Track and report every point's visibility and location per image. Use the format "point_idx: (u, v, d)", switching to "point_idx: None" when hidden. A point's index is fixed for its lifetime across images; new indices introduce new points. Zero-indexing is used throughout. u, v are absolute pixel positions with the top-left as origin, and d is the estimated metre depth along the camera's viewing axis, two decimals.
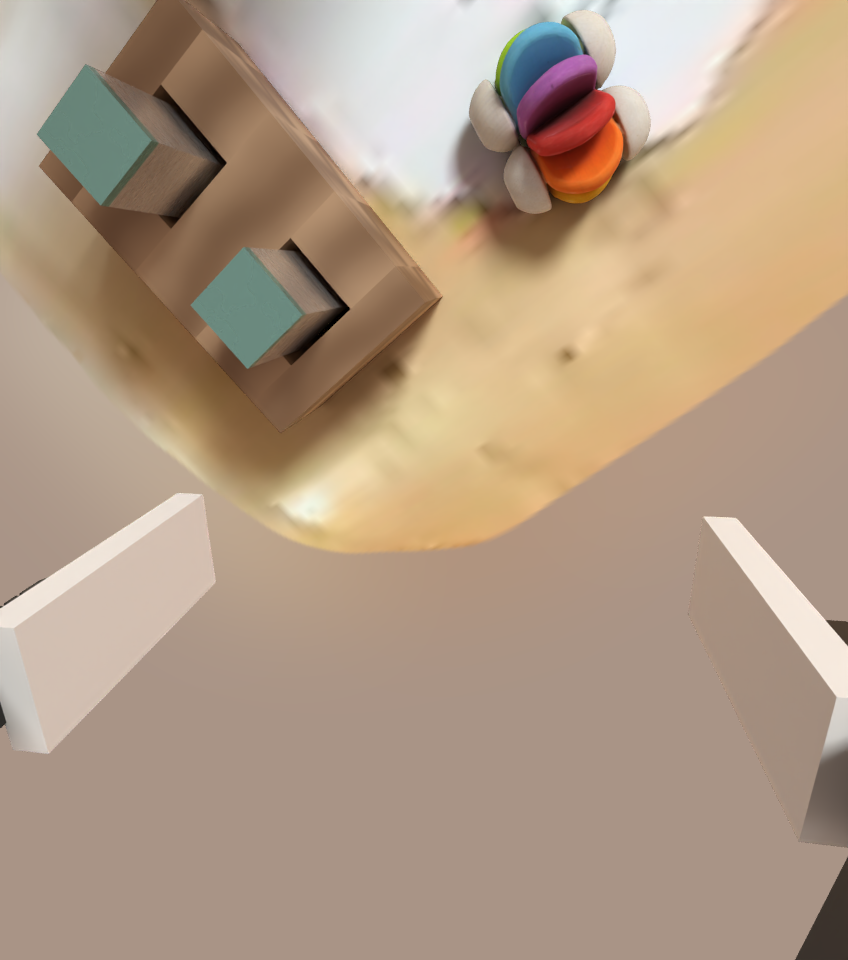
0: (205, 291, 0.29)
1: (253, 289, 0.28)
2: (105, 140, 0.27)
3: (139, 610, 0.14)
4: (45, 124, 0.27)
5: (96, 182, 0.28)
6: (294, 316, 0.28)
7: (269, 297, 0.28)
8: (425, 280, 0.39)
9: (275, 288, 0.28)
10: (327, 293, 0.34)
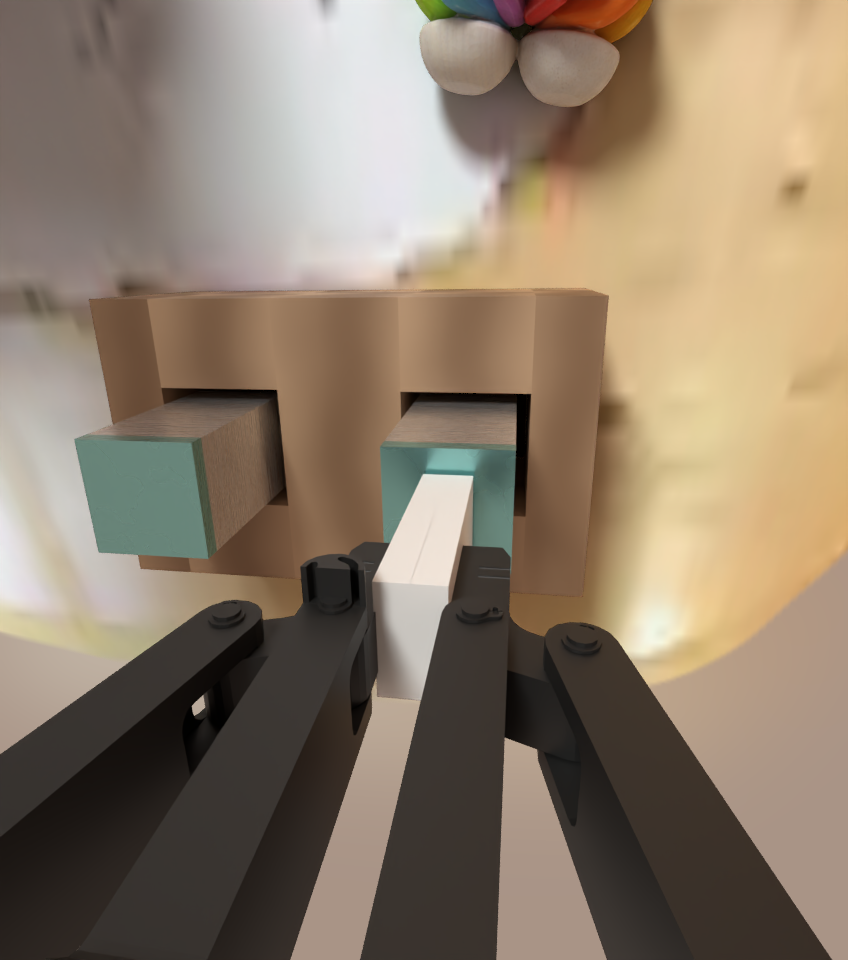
0: (386, 535, 0.19)
1: None
2: (154, 490, 0.19)
3: None
4: (96, 534, 0.20)
5: (184, 540, 0.20)
6: (508, 461, 0.17)
7: (459, 470, 0.18)
8: None
9: (456, 453, 0.17)
10: (490, 403, 0.23)
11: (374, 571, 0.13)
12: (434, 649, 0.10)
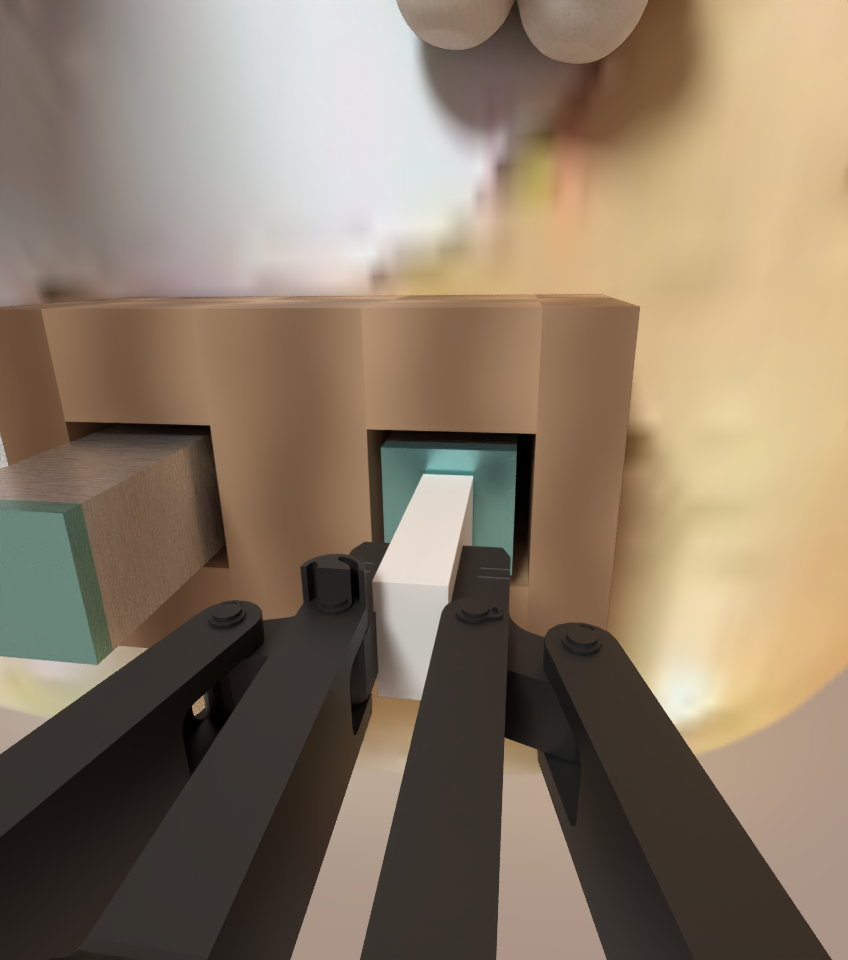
0: (387, 536, 0.19)
1: None
2: (19, 575, 0.14)
3: None
4: None
5: (64, 640, 0.14)
6: (509, 462, 0.17)
7: (460, 471, 0.18)
8: (568, 296, 0.22)
9: (457, 454, 0.17)
10: None
11: (374, 571, 0.13)
12: (434, 649, 0.10)
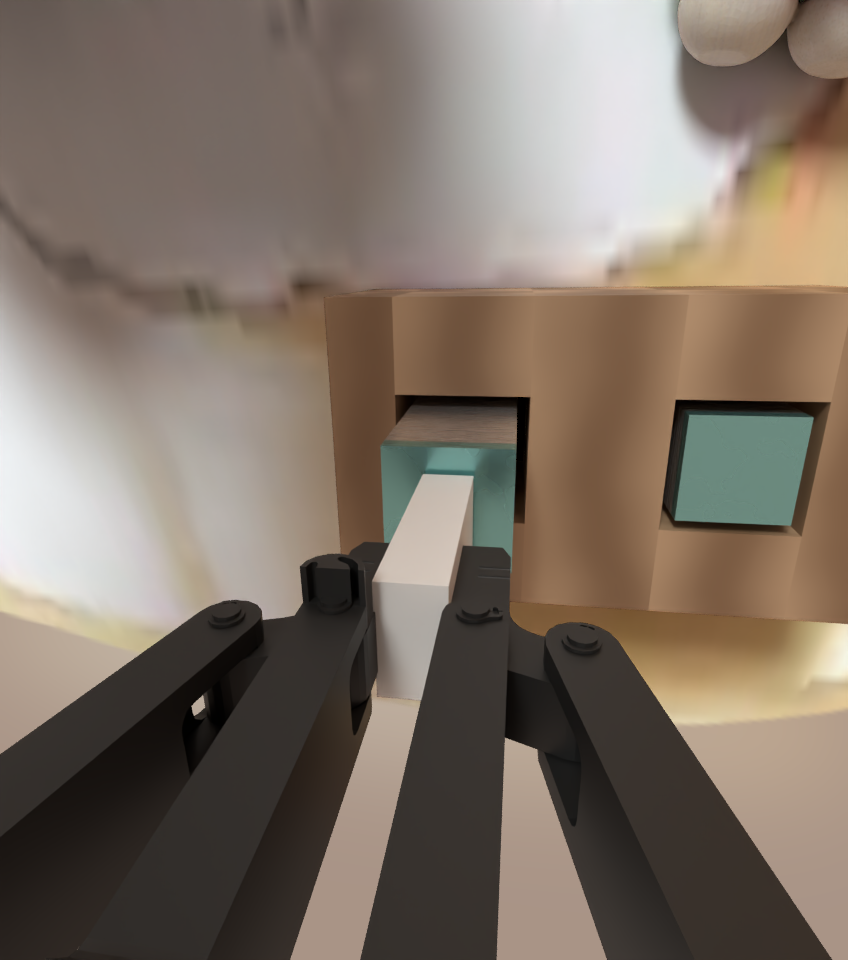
0: (681, 492, 0.22)
1: (733, 444, 0.21)
2: None
3: None
4: None
5: None
6: (805, 427, 0.20)
7: (759, 435, 0.21)
8: (806, 287, 0.25)
9: (759, 420, 0.20)
10: None
11: (374, 571, 0.13)
12: (434, 649, 0.10)
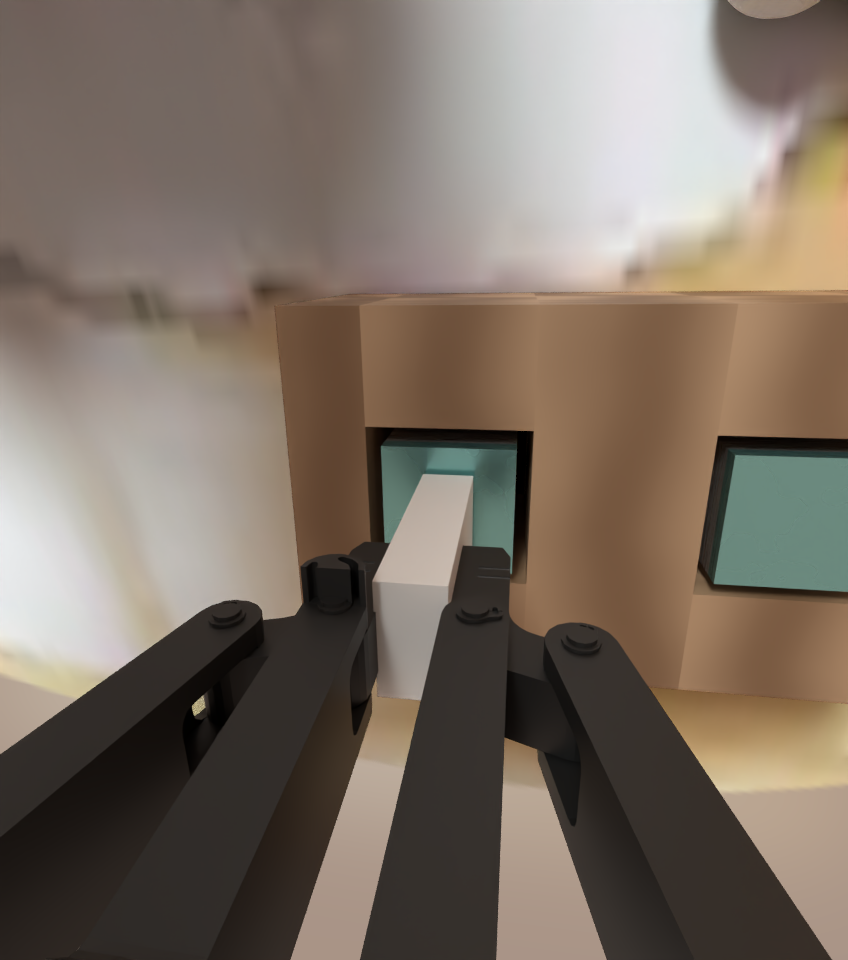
0: (723, 550, 0.17)
1: (791, 491, 0.17)
2: None
3: None
4: None
5: None
6: None
7: (824, 481, 0.16)
8: None
9: (825, 463, 0.16)
10: None
11: (374, 571, 0.13)
12: (434, 649, 0.10)
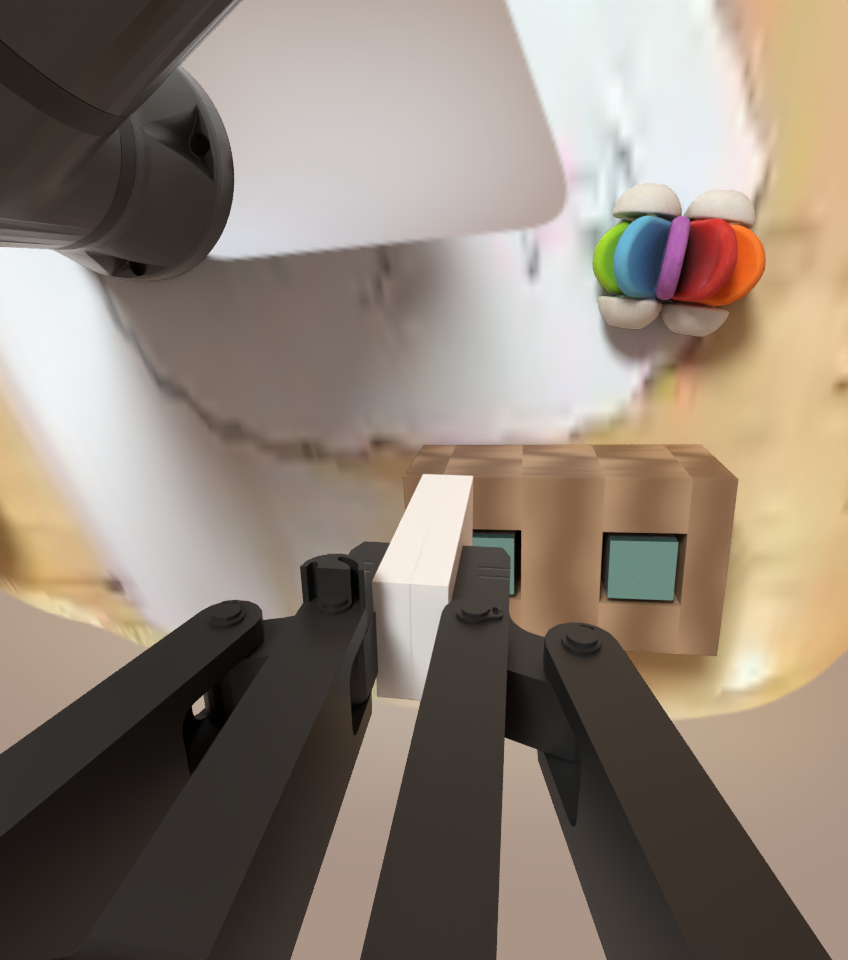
0: (609, 582, 0.38)
1: (636, 556, 0.37)
2: None
3: None
4: None
5: None
6: (674, 547, 0.37)
7: (649, 551, 0.37)
8: (687, 451, 0.41)
9: (649, 543, 0.37)
10: None
11: (374, 571, 0.13)
12: (434, 649, 0.10)
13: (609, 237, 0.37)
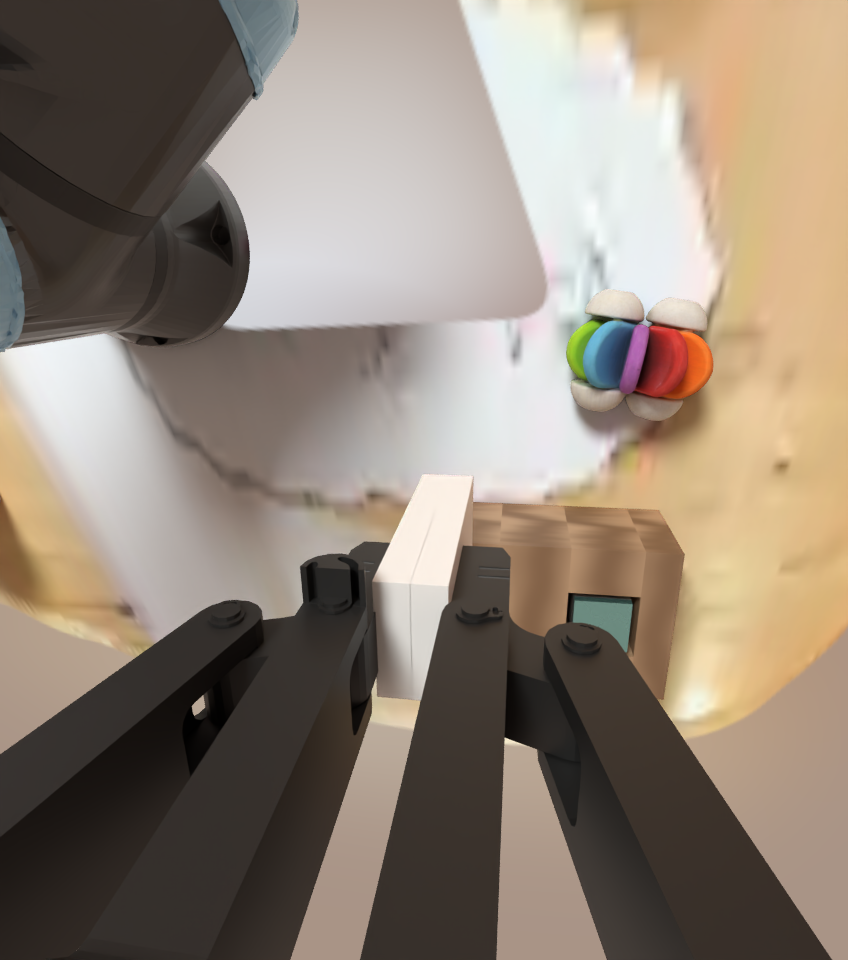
0: None
1: (596, 614, 0.43)
2: None
3: None
4: None
5: None
6: (629, 608, 0.42)
7: (608, 610, 0.43)
8: (645, 518, 0.46)
9: (607, 604, 0.42)
10: None
11: (374, 571, 0.13)
12: (434, 649, 0.10)
13: (581, 333, 0.42)
